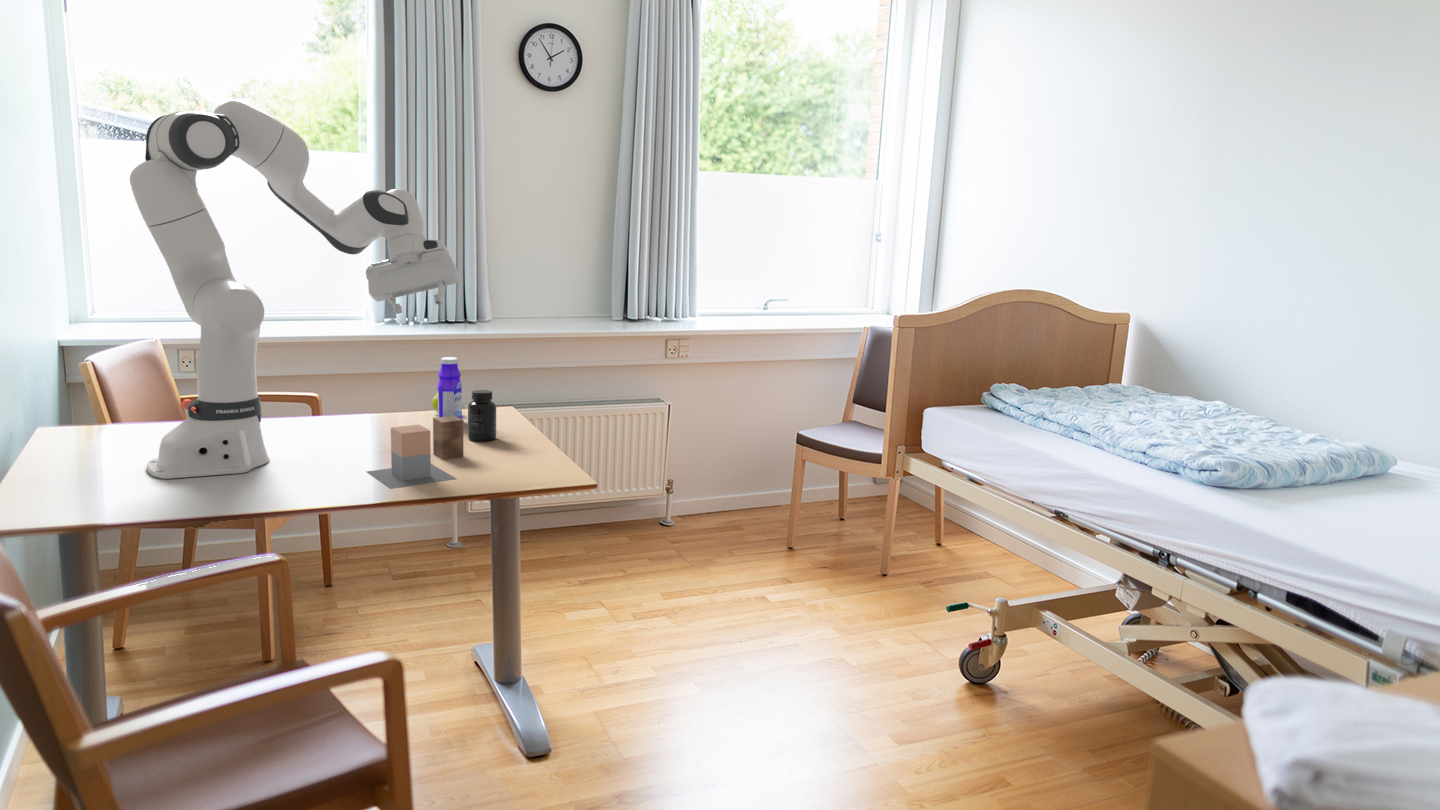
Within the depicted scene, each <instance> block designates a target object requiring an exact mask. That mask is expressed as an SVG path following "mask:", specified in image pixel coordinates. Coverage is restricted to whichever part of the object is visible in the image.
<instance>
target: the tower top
mask: <svg viewBox="0 0 1440 810" xmlns="http://www.w3.org/2000/svg"><path fill="white" fill-rule="evenodd" d="M391 451H393V452H394V453H396V454H397V455H399V456H401V457H409V456H416V455H424V454H430V455H431V430H430V429H429V428H426V427H424V426H423V425H420V424H412V425H411V424H410V425H402V426H393V427H392V426H391V427H390V452H391Z"/></svg>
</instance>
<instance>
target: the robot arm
mask: <svg viewBox="0 0 1440 810" xmlns="http://www.w3.org/2000/svg"><path fill="white" fill-rule="evenodd" d="M309 153H310V152H309V149H308V146H307V144H306V141H305V140H304V139H303V138H302V137H301V136H300V135H299V134H298V133H297V132H296V131H295V130H293V129H291V128H290V127H289V126H287V125H285V124H284V123H282V121H279V120H278V119H276V117H273V116H272V115H270V114H268V113H267V112H265V111H263V110H261V109H260V108H257V107H255V106H254V105H251V104H249V103H248V102H245V101H242V100H240V99H228V100H225V101H223V102H222V103H220V104H219V105H218V106H217V107H216V108H215V110H214V111H213V112H205V111H175V112H171V113H168V114H165V115H162V116H160V117H157V118H156V119H155V120H153V121H152V122H151V124H150V125H149V126H148V128H147V132H146V135H145V156H144V157H145V158H144V159H145V161H144V162H142V163H140V164H138V165H137V166H136V167H135V168H134V169H133V170H132V172H131V173H130V176H129V184H130V186H131V187H130V188H131V190H132V194H133V197H134V199H135V202H136V204H137V207H138V210H139V212H140V214H141V217H142V219H143V220H144V222H145V225H146V227H147V228H148V230H149V233H150V234H151V235H152V238H153V239H154V242H155V243H156V245H157V247H158V249H159V251H160V253H161V255H162V257H163V259H164V260H165V263H166V265H167V267H168V269H169V272H170V274H171V277H172V280H173V283H174V284H175V285H174V286H175V288H176V290H177V292H178V295H179V297H180V300H181V301H182V304H183V307H184V309H185V311H186V313H187V315H188V316H189V318H190V319H191V321H193V322H194V323H196V324H197V325H199V326H200V342H199V350H198V355H197V357H196V361H195V368H196V369H195V370H196V383H197V398H195V399H194V400H193V401H192V400H191V399H189V398H186V399H183V400H182V402H181V407H183V408H184V410H187V416H188V417H187V418H186V419H185V420H184V421H182V422H180V423H179V424H178V425H176V427H174V428H172V430H170V431H168V432H167V433H166V434H164V436H163V437H162V439H161V441H160V443H159V448H158V457H157V458H153V459H151V460H149V461H148V462H147V464H146V470H147V472H148V473H149V475H151V476H152V477H156V478H157V479H158V478H160V479H163V480H164V479H166V480H167V479H178V478H179V479H180V478H193V477H207V476H218V475H230V474H231V475H232V474H243V473H244V474H245V473H247V472H250V471H251V470H252V469H255V468H258V467H261V466H263V465H265V464H267V463H268V462H269V461H270V457H269V456H268V455H269V454H268V453H267V450H266V447H265V442H264V438H263V434H262V429H261V422H262V404H261V397H260V396H259V395H258V381H257V380H258V379H257V353H258V346H259V340H260V332H261V325H262V323H263V321H264V318H265V308H264V307H265V306H264V304H263V302H262V299H261V298H260V297H259V295H258V294H257V293H256V292H255V291H254V290H253V289H252V288H251V287H250V286H247V285H246V284H243V283H241V282H238V281H237V280H236V278H235V276H234V275H233V274H234V273H232V270H231V267H230V263H229V260H228V257H227V253H226V250H225V248H226V246H225V243H224V241H223V239H222V237H221V235H220V232H219V230H218V229H217V227H216V225H215V223H214V221H213V219H212V217H211V214H210V212H209V210H208V209H207V206H206V204H205V202H204V201H203V199H202V197H201V195H200V194H199V191H198V190H199V189H198V187H197V181H196V180H197V179H196V177H197V173H198V171H203V170H209V169H210V170H211V169H213V168H217V167H218V166H220V165H221V164H222V163H224V162H225V161H226V160H227V159H228V158H229V157H230V156H233V157H235V158H238V159H240V160H241V161H242V162H244V163H246V164H248V166H251V168H254V169H255V170H256V171H258V172H259V173H260V174H261V175H263V177H264V178H265V179H266V180H267V181H266V182H267V185H268V188H269V190H270V191H271V193H273V195H274V196H275V197H276V199H278V200H279V201H281V202H282V203H283V204H285V206H286V207H287V208H289V209H290V210H291V211H292V212H293V213H295V214H296V215H298V216H299V217H300V218H301V219H303V221H305V222H307V224H309V225H310V226H311V227H312V228H314V229H315V230H316V231H317V232H319V233H320V234H321V235H322V236H323V237H324V238H325V239H326V240H327V242H328V243H329V244H330V245H331V246H333V248H334V249H336V250H338V251H339V252H342V253H345V254H348V255H358V254H360V253H362V252H364V250H365V249H367V247H368V246H369V245H371V244H372V243H373V242H374V241H376V240H377V239H379V238H380V237H383V238H385V239H386V240H387V241H386V242H387V245H386V246H387V250H388V256H389V259H385V260H382V261H379V262H372V263H371V264H370V265H369V266H368V267H367V268H366V270H365V275H366V279H367V281H368V285H367V286H368V287H367V288H368V294H369V295H370V297H371V299H373V300H374V301H375V302H377V303H378V302H382V301H383V302H384V301H388V303H389V304H390V305H391V306H392V310H393V313H394V314H395V315H398V314H402V313H403V310H402V309H403V308H402V306H401V305H400V303H395V302H396V298H400V297H404V296H409V295H413V294H416V293H422V292H426V291H430V290H434V289H438V291H437V293H436V294H434V295H433V298H434V303H435V304H436V305H441V304H443V303H444V301H443V297H444V294H445V293H446V287H447V286H452V285H455V284H457V283H458V282H459V281H460V275H459V271H458V269H457V265H456V264H455V262H454V260H453V258H452V257H451V254H450V253H449V249H448V247H447V246H446V244H445V243H444V242H443V241H442V240H441V239H440V240H439V239H427V238H426V236H425V234H424V230H425V229H424V228H425V227H424V221H423V216H422V211H421V209H420V207H419V204H418V201H417V200H416V198H415V196H414V195H413V194H412V193H411V192H409V191H407V190H405V189H400V188H394V189H393V188H392V189H390V190H388V191H384V190H380V189H375V188H370V189H367V190H366V191H364V192H362V193H360V195H358V196H357V197H355V198H354V199H353V200H352V201H350V202H349V203H348V204H347V205H345V206H344V207H342V208H341V209H332V208H330V207H329V206H328V205H327V204H325V203H324V202H323V201H322V200H321V199H319V198H318V197H317V196H316V195H314V194H313V193H312V192H311V191H310V190H309V189H307V187H306V186H305V184H304V179H305V177H306V174H307V171H308V168H309V163H310V154H309Z"/></svg>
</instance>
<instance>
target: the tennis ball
mask: <svg viewBox="0 0 1440 810" xmlns="http://www.w3.org/2000/svg"><path fill="white" fill-rule="evenodd" d="M432 407H433V409H434V410H435V412H436V414H438V392H437V393H436V394H435V395H434V396H433V398H432Z"/></svg>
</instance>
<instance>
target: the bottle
mask: <svg viewBox="0 0 1440 810" xmlns="http://www.w3.org/2000/svg"><path fill="white" fill-rule="evenodd" d="M440 360H441V362H440V370H439V372H438V375H437V376H438V377H439V378H438V382H437V393H438V413H437V417H446V416H456V417H458V418H460V419H462V420H463V410H462V409H463V407H462V406H463V404H462V399H463V397H462V390H463V389H462V386H463V385H462V381H461V378H460V377H461V376H462V375H461V372H460V370H459V365H458V357H456V356H455V357H454V356H445V357H441V359H440Z"/></svg>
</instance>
